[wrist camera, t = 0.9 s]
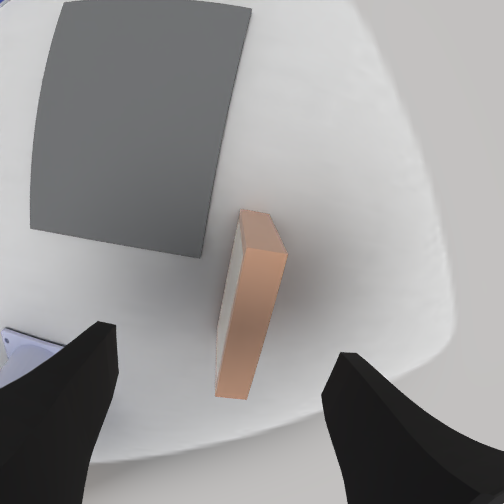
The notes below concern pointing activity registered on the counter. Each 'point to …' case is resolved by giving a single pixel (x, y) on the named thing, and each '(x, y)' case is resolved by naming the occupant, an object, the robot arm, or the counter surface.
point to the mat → (134, 120)
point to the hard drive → (3, 2)
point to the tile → (247, 302)
